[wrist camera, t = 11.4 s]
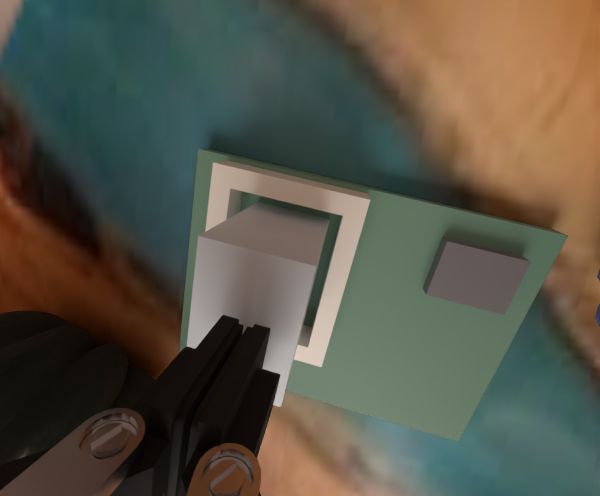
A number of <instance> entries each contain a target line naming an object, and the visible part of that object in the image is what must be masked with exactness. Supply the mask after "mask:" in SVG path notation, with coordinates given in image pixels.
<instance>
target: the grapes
mask: <svg viewBox="0 0 600 496" xmlns="http://www.w3.org/2000/svg"><path fill="white" fill-rule="evenodd" d="M597 277H598V279H599V281H600V270H599V273H598V276H597ZM595 318H596V320H597V322H598V324H599V326H600V304H599V306H598V309H597V312H596V316H595Z"/></svg>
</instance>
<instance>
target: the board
mask: <svg viewBox="0 0 600 496" xmlns="http://www.w3.org/2000/svg"><path fill="white" fill-rule="evenodd" d="M223 161H231V162H236V163H240V164H244V165H248V166H253V167H257V168H261V169H265V170H269V171H274V172H278V173H282V174H286V175H291V176H295V177H299V178H303V179H307V180H312V181H316V182H320V183H324V184H329V185H333V186H337V187H341V188H346V189H350V190H354V191H358V192H362V193H367V194H368V195H369V197H370V203H369V207H368V210H367V214H366V217H365V220H364V224H363V227H362V231H361V234H360V237H359V241H358V244H357V248H356V251H355V255H354V258H353V261H352V265H351V268H350V272H349V275H348V279H347V282H346V285H345V289H344V292H343V296H342V299H341V303H340V306H339V309H338V313H337V316H336V320H335V323H334V326H333V330H332V333H331V337H330V340H329V344H328V347H327V350H326V354H325V357H324V361H323V364H322V367H319V366H315V365H312V364H308V363H305V362H301V361H298V360H293V364H292V368H291V371H290V375H289V379H288V382H287V386H286V390H285V391H287V392H290V393H294V394H297V395H301V396H304V397H307V398H311V399H314V400H318V401H321V402H324V403H328V404H331V405H335V406H338V407H341V408H345V409H348V410H351V411H355V412H358V413H362V414H365V415H368V416H372V417H375V418H379V419H382V420H385V421H389V422H392V423H396V424H399V425H402V426H406V427H409V428H413V429H416V430H419V431H423V432H426V433H430V434H433V435H436V436H440V437H443V438H447V439H450V440H453V441H457V442H459V440H460V438H461V436H462V434H463V432H464V430H465V428H466V427H467V425H468V423H469V421H470V419H471V417H472V415H473V413H474V411H475V410H476V408H477V406H478V404H479V402H480V400H481V398H482V396H483V395H484V393H485V391H486V389H487V387H488V385H489V383H490V381H491V380H492V378H493V376H494V374H495V372H496V370H497V368H498V366H499V365H500V363H501V361H502V359H503V357H504V355H505V353H506V351H507V350H508V348H509V346H510V344H511V342H512V340H513V338H514V336H515V335H516V333H517V331H518V329H519V327H520V325H521V323H522V321H523V320H524V318H525V316H526V314H527V312H528V310H529V308H530V306H531V304H532V303H533V301H534V299H535V297H536V295H537V293H538V291H539V289H540V288H541V286H542V284H543V282H544V280H545V278H546V276H547V274H548V273H549V271H550V269H551V267H552V265H553V263H554V261H555V259H556V258H557V256H558V254H559V252H560V250H561V248H562V246H563V244H564V243H565V241H566V239H567V237H568V235H565V234H562V233H560V232H557V231H555V230H552V229H548V228H544V227H539V226H535V225H531V224H527V223H522V222H518V221H514V220H510V219H505V218H501V217H497V216H493V215H488V214H484V213H480V212H475V211H471V210H467V209H463V208H458V207H454V206H450V205H446V204H441V203H437V202H433V201H429V200H424V199H420V198H416V197H412V196H407V195H403V194H399V193H394V192H390V191H386V190H382V189H377V188H373V187H369V186H365V185H360V184H356V183H352V182H348V181H343V180H339V179H335V178H331V177H326V176H322V175H318V174H313V173H309V172H305V171H301V170H296V169H292V168H288V167H284V166H279V165H275V164H271V163H267V162H262V161H258V160H254V159H250V158H245V157H241V156H237V155H232V154H228V153H224V152H220V151H215V150H211V149H198V157H197V168H196V178H195V189H194V199H193V209H192V220H191V230H190V241H189V251H188V262H187V272H186V283H185V293H184V304H183V314H182V325H181V335H180V346H179V353H180V352H181V350H183V349H184V348H185V347H187V338H188V328H189V319H190V309H191V300H192V290H193V281H194V271H195V262H196V252H197V243H198V236H199V235H201V234H202V233H204V232H205V229H206V220H207V211H208V202H209V193H210V184H211V175H212V167H213V162H223ZM257 202H262V203H266V204H270V205H274V206H278V207H282V208H286V209H290V210H294V211H298V212H302V213H307V214H311V215H315V216H319V217H323V218H327V219H330V221H329V225H328V229H327V233H326V237H325V241H324V244H323V248H322V252H321V256H320V260H319V264H318V268H317V272H316V276H315V280H314V284H313V288H312V292H311V296H310V300H309V304H308V308H307V312H306V316H305V319H304V323H303V325H305V326H308V327H313V323H314V319H315V315H316V311H317V308H318V304H319V300H320V296H321V293H322V289H323V285H324V281H325V278H326V274H327V270H328V266H329V262H330V259H331V255H332V251H333V247H334V244H335V240H336V236H337V232H338V228H339V225H340V221H341V217H342V215H337V214H333V213H329V212H325V211H321V210H317V209H313V208H309V207H305V206H301V205H296V204H292V203H288V202H284V201H280V200H276V199H272V198H268V197H264V196H260V195H255V194H251V193H247V192H243V194H242V201H241V208H240V212H241V211H243V210H244V209H246V208H248V207H250V206H251V205H253V204H255V203H257Z"/></svg>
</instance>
